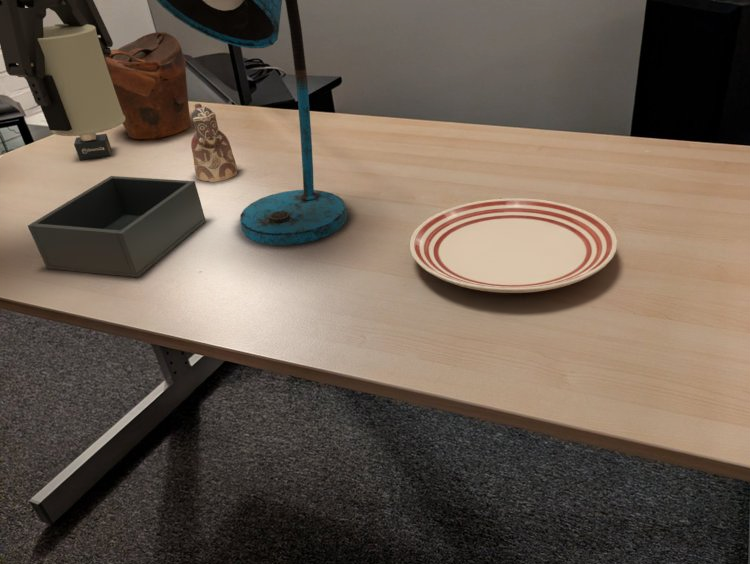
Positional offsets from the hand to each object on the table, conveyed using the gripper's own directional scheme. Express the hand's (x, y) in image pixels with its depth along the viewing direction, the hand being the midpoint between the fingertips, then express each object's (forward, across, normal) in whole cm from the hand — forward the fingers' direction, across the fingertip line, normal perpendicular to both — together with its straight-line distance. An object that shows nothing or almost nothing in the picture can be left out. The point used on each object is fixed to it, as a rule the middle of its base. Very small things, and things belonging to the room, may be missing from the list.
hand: (86, 118), depth 86 cm
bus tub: (+18, -1, 0) cm, 18 cm away
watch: (+18, +32, +30) cm, 48 cm away
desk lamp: (+18, +8, -22) cm, 30 cm away
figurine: (+18, +26, 0) cm, 32 cm away
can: (+1, 0, 0) cm, 1 cm away
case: (+18, +47, +26) cm, 57 cm away
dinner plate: (+19, +4, -56) cm, 60 cm away
